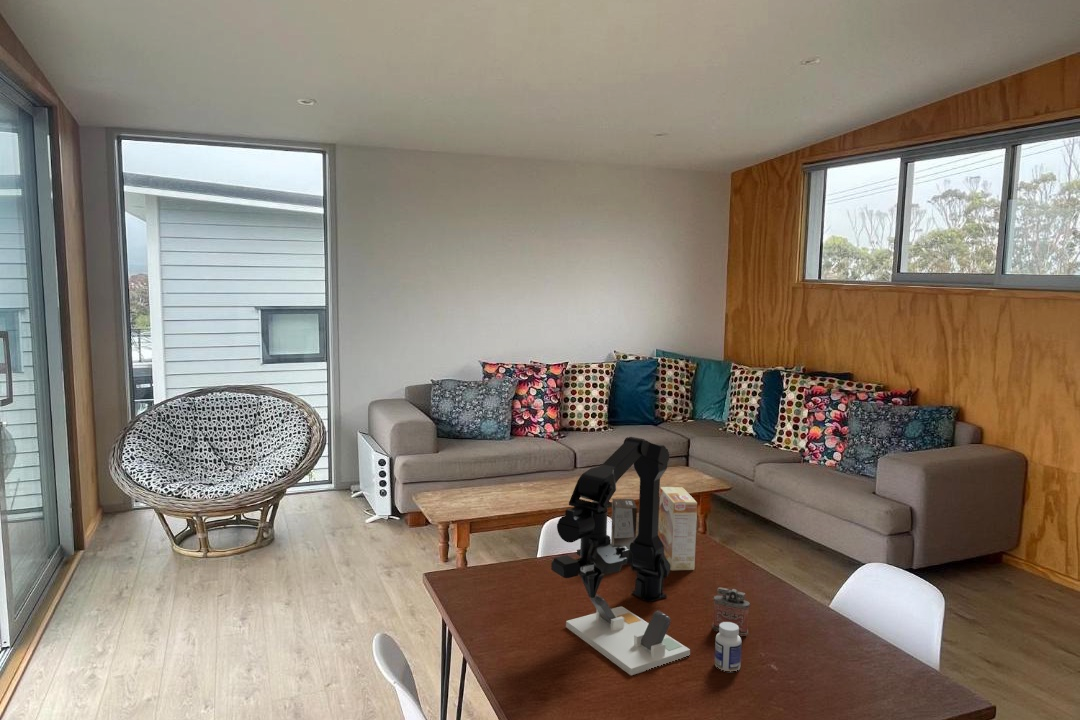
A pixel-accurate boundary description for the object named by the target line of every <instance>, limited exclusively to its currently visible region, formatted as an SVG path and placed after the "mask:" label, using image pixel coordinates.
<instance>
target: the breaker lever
mask: <svg viewBox="0 0 1080 720" xmlns="http://www.w3.org/2000/svg"><path fill="white" fill-rule="evenodd" d="M590 601H591V603H592V604H593V606H594V607H595V609H597V611H598V612H599V614H600V616H601V617H602V619H604V620H605V621H607V622H608V623H610V624H611V619H614V618H616V617H615V615H614V614H613V612H612V610H611V609H612V608H611V607H610V606H609V604H608V602H607V601H606V600H605V598H603V597H601V596H600V595H599V594H597V593H596V595H595V597H594V598H590Z"/></svg>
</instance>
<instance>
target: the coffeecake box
mask: <svg viewBox="0 0 1080 720" xmlns="http://www.w3.org/2000/svg"><path fill="white" fill-rule="evenodd" d="M697 511H698V502H697V501H696V500H695V498H694V497H692V495H690V493H689V492H688V491H687V490H686V489H685V488H684V487H682V486H660V491H659V517H658V536H659V538H660V540H661V542H662V544H663V545H664V556H665V557H666V559H667V560H668V562H669V563H670V565H671V567H670V571H694V570H695V563H696V562H695V561H696V559H695V558H696V538H697V516H698V514H697Z"/></svg>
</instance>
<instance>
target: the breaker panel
mask: <svg viewBox="0 0 1080 720" xmlns="http://www.w3.org/2000/svg"><path fill="white" fill-rule="evenodd" d="M595 609H596V608H595ZM610 609H611V610H612V612H613V614H614V615H615V617H616V618H614V619H611V624H610V623H608V622H607V621H605V620H604V619H602V617H601V616H600V614H599V612H598V611H597V609H596V612H594V613H590V614H588V615H584V616H579V617H576V618H572V619H569V620H565V621H566V622H565V628H567V629H568V630H569V631H570V632H571V633H573V634H575V635H576V636H577V637H579V638H580V639H581V640H583V641H584V642H585V643H586V644H588V645H590V646H591V647H592V648H593V649H594V650H596V651H598V652H599V653H600V654H601V655H603V656H604V657H605V658H607V659H609V661H611V663H613V664H614V665H616V666H618V667H619V668H620V669H621V670H622V671H624V672H626V673H627V674H628V675H629V676H633V675H634V676H635V675H636V674H637V675H638V674H640V673H643V672H646V670H647V671H649V669H650V670H652V669H651V668H653V669H655V668H654V667H656V668H658V667H657V666H659V667H662V666H664V665H663V664H665V665H667V664H666V663H668V664H670V663H669V662H671V663H673V662H672V661H674V662H676V661H675V660H677V661H679V660H678V659H680V660H682V659H681V658H683V657H686V656H689V655H690V656H691V649H690V648H689V647H687V646H686V645H684V644H682V643H680V641H678V640H676V639H674V638H673V637H671V636H670V635H668V634H667V631H668V629H669V627H670V625H671V617H670V616H668V615H667V614H666V613H663V612H662V611H661V610H656V611H654V612H653V613H652V616H651V618H650V619H649V620H650V621H649V622H647V621H645V620H644V619H643V618H642V617H639V616H638V615H636V614H635V613H633V612H631V611H630V610H629V609H627V608H625V607H623V606H622V605H621V606H617V607H612V608H610ZM690 656H689V657H690ZM686 658H687V657H686ZM683 659H684V658H683ZM661 665H662V666H661Z"/></svg>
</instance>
